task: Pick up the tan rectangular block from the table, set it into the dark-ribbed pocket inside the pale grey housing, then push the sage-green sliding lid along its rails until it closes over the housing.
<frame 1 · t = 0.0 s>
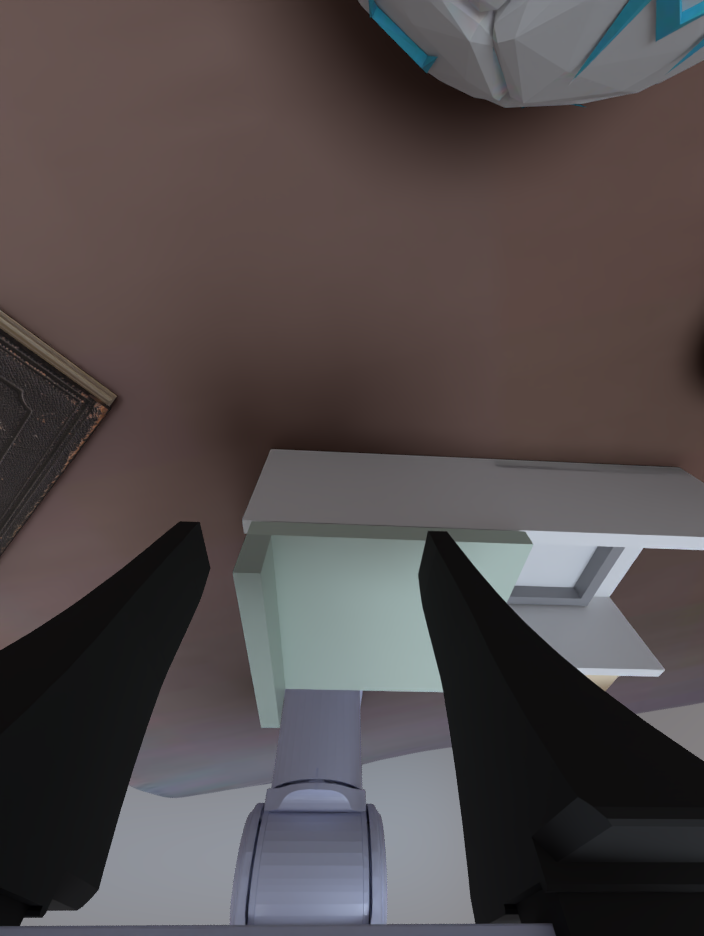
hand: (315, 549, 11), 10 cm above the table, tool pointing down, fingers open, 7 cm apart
lid: (378, 640, 17), point 8 cm above the table, slide at 13.0 cm
housing: (551, 535, 24), on the table
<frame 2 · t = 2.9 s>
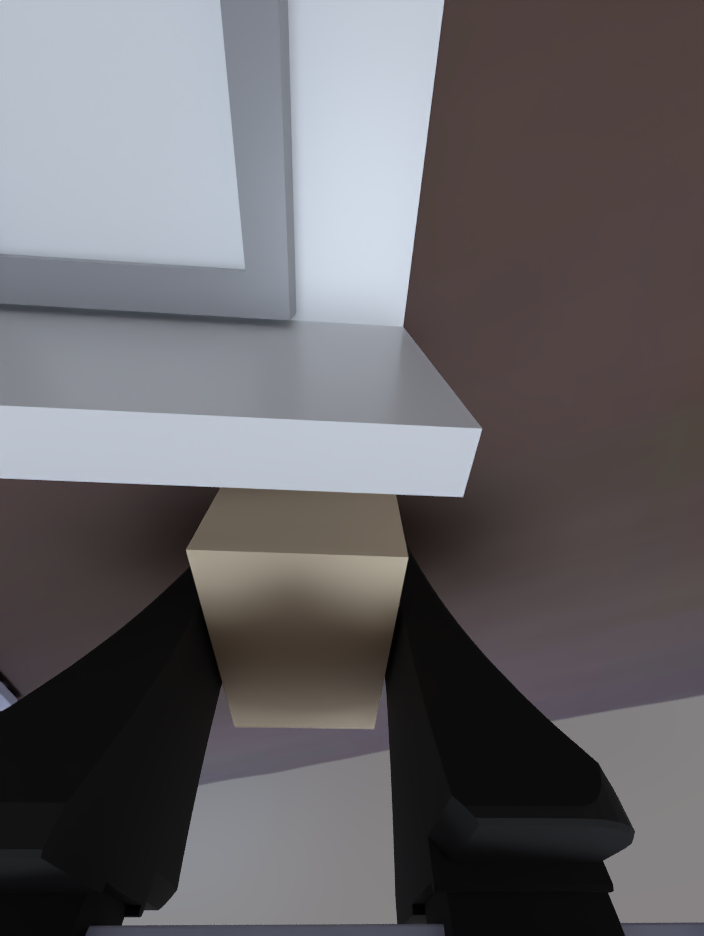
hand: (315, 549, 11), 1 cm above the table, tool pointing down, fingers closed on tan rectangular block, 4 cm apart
tan rectangular block: (318, 520, 12), on the table, touching gripper
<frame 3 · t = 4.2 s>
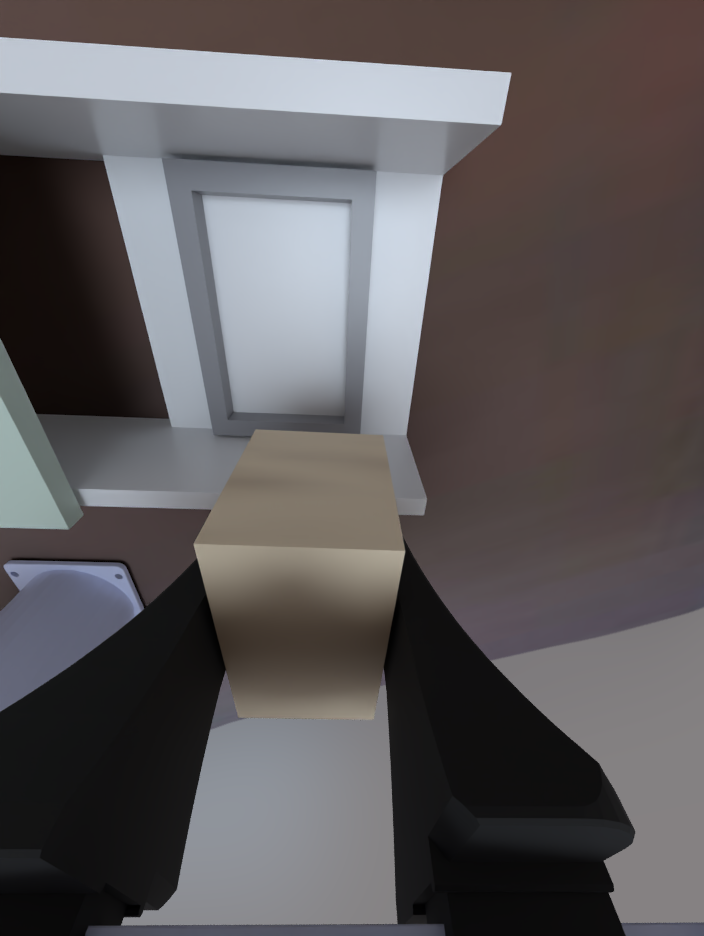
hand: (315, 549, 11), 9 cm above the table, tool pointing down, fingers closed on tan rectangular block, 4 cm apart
tan rectangular block: (319, 518, 13), point 7 cm above the table, touching gripper
housing: (287, 319, 16), on the table
when the fingers open (3 cm above the table, at t = 6.0 s): tan rectangular block stays where it is, resting on housing.
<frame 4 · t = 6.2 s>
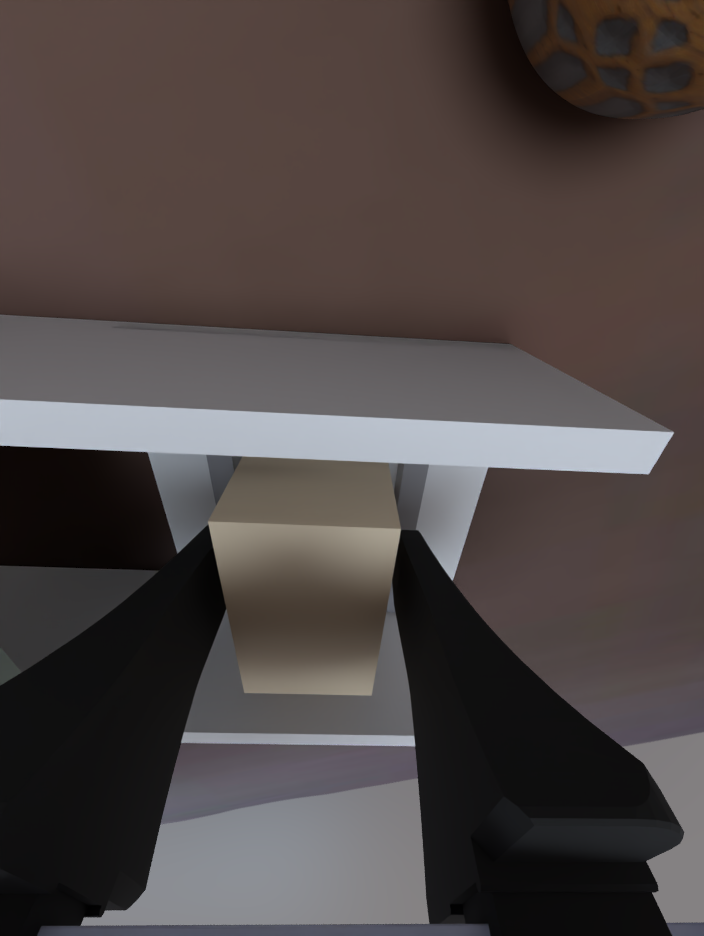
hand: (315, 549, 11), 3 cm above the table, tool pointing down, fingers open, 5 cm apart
tan rectangular block: (320, 507, 13), point 1 cm above the table, touching housing
housing: (322, 488, 14), on the table
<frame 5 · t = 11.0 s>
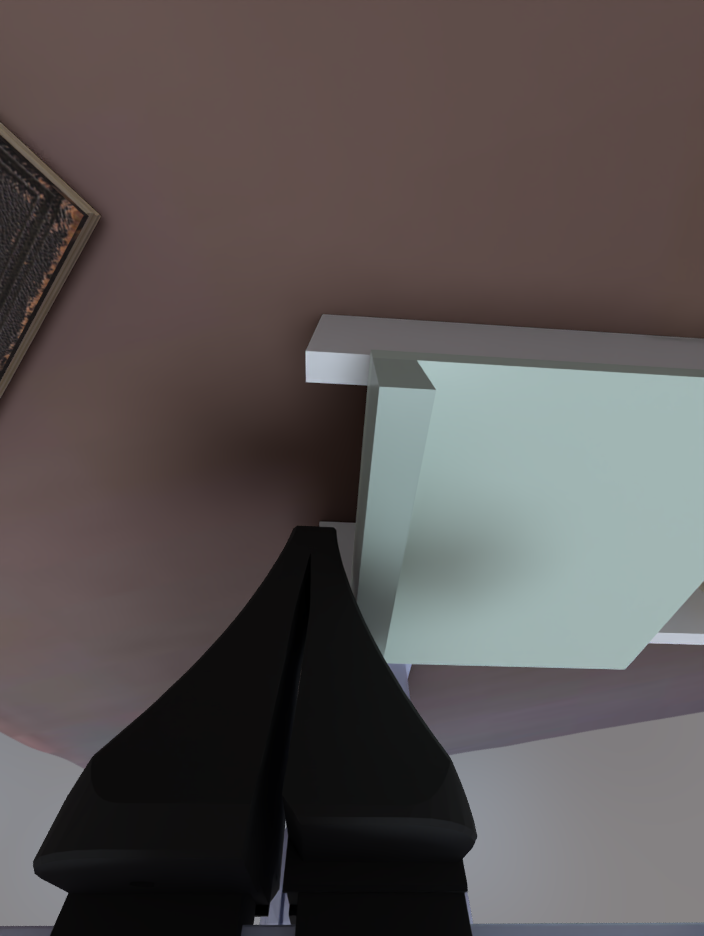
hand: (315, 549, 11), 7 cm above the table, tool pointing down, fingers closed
lid: (547, 577, 11), point 8 cm above the table, slide at 11.9 cm, touching gripper
housing: (690, 461, 18), on the table
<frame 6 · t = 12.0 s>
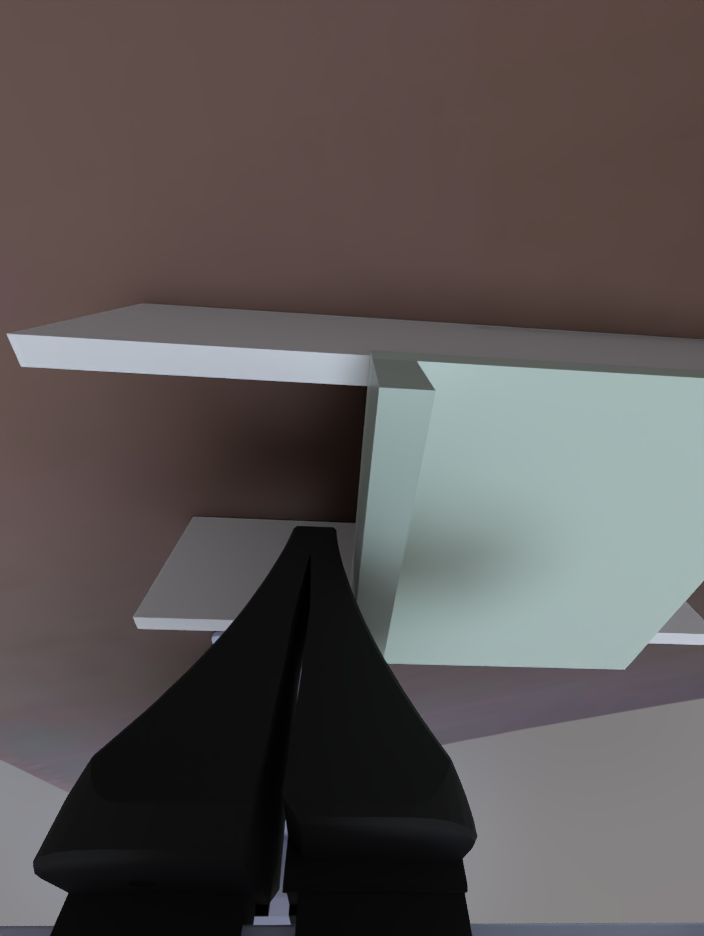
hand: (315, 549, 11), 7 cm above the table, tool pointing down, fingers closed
lid: (547, 577, 11), point 8 cm above the table, slide at 4.6 cm, touching gripper
housing: (555, 454, 18), on the table
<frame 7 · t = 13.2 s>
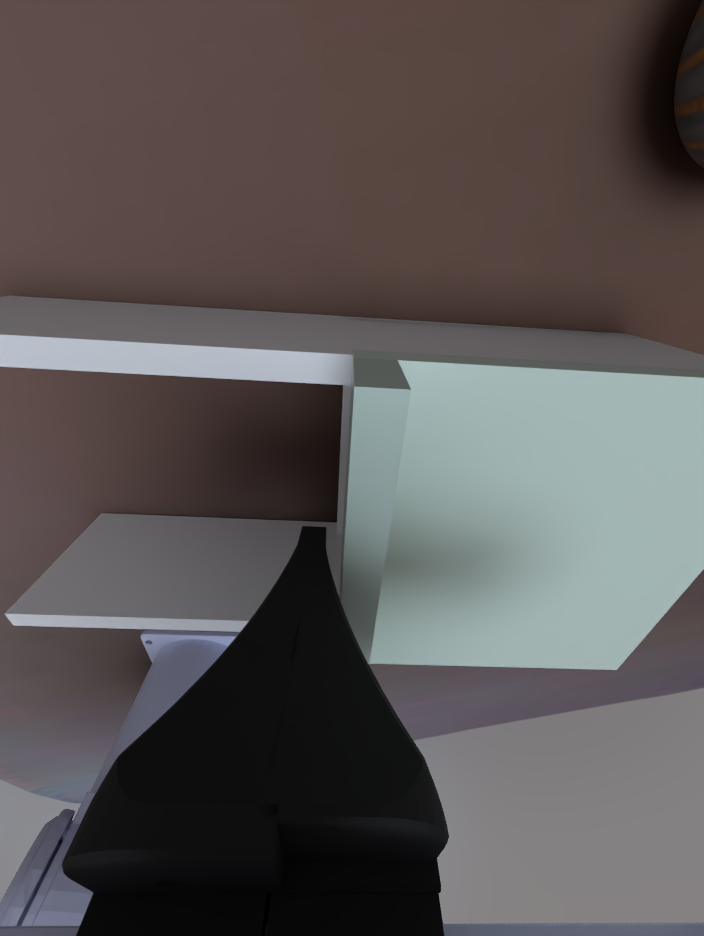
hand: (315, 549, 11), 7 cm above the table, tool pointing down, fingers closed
lid: (534, 577, 11), point 8 cm above the table, slide at -0.2 cm, touching gripper
housing: (457, 449, 18), on the table
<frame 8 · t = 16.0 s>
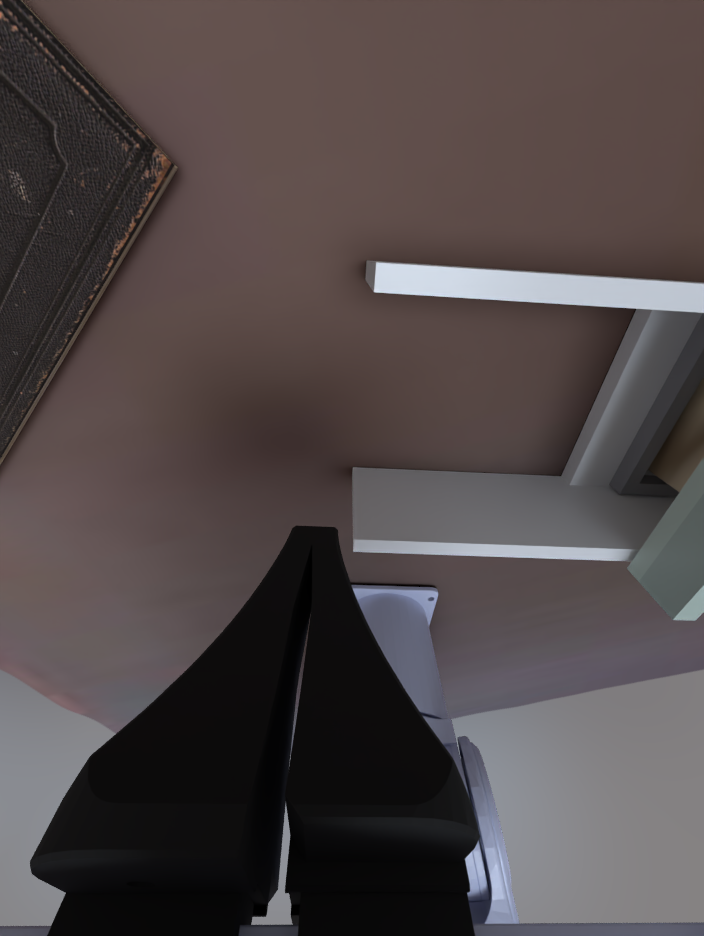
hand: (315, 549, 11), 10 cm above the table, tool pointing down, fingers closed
housing: (697, 404, 20), on the table
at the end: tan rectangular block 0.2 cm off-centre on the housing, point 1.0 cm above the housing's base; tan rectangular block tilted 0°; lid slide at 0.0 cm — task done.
